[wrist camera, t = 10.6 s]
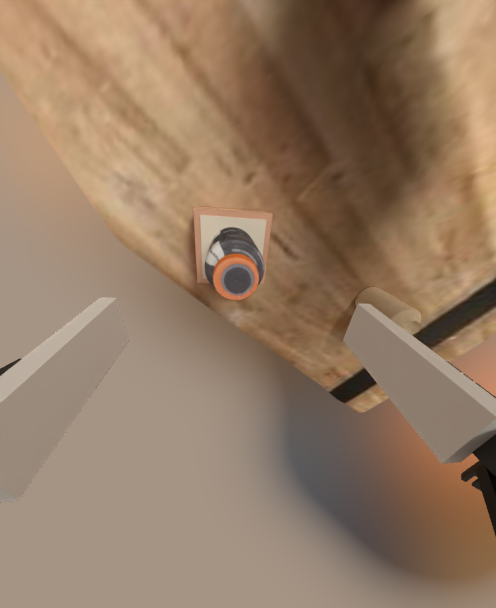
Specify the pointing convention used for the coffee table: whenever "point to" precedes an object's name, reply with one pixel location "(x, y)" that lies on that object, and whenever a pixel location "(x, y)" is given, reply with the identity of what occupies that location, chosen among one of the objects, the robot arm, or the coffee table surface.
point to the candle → (391, 308)
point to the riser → (217, 219)
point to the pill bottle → (234, 264)
